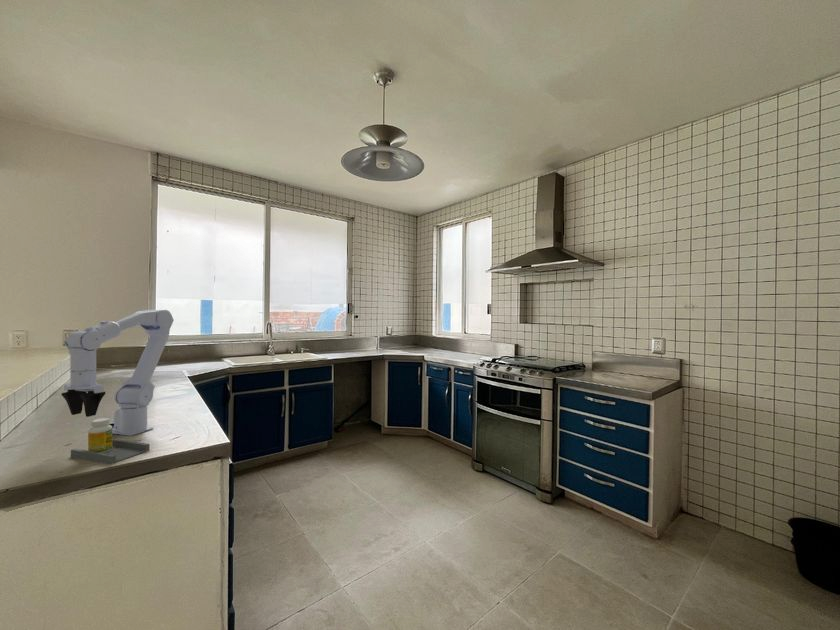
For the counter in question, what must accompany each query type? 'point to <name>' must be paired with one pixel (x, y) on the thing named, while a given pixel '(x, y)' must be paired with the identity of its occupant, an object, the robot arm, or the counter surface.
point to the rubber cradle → (113, 452)
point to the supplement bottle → (100, 436)
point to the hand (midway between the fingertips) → (83, 414)
